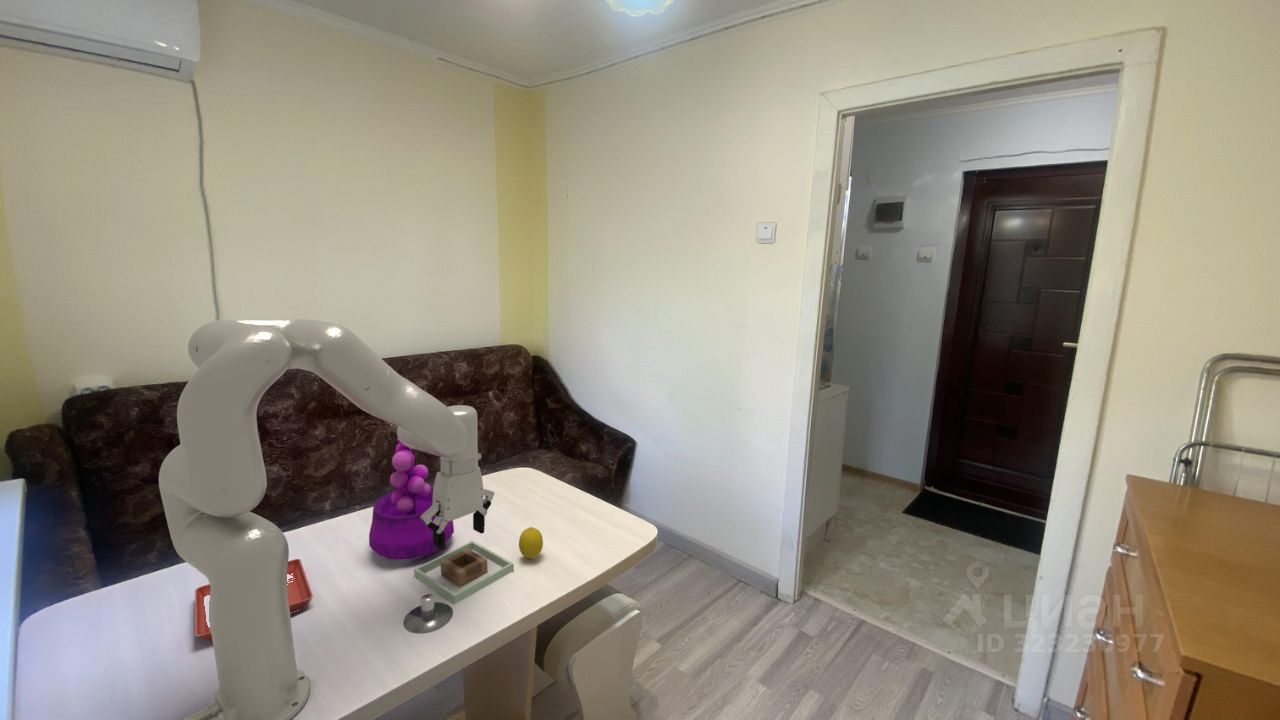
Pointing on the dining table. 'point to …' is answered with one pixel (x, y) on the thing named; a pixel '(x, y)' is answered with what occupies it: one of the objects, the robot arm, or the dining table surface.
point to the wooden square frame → (464, 567)
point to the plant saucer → (296, 592)
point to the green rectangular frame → (473, 588)
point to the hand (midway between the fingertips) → (459, 539)
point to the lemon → (530, 542)
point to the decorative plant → (404, 512)
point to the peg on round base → (428, 616)
